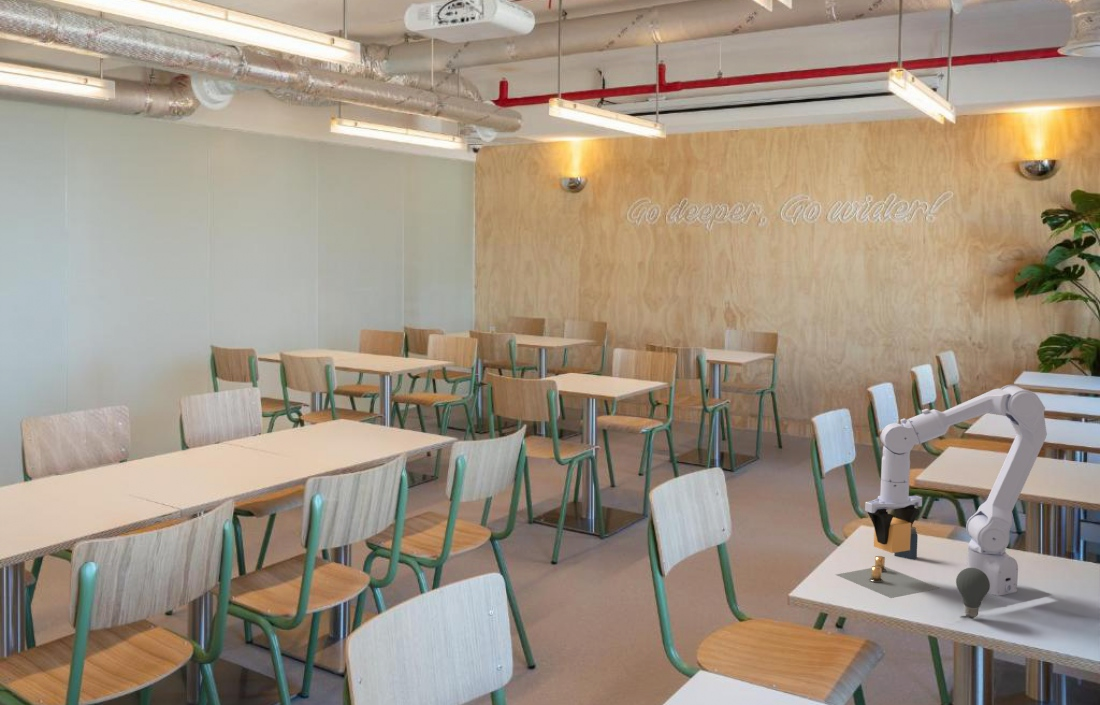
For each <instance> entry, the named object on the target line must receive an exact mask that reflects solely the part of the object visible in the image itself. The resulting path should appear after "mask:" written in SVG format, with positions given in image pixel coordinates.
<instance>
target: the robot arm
mask: <svg viewBox="0 0 1100 705" xmlns="http://www.w3.org/2000/svg"><path fill="white" fill-rule="evenodd" d="M1045 411H1046V406H1045V405H1044V403H1043V401H1042V400H1041V398H1040V397H1039V396H1038V395H1037V394H1036V392H1033V391H1031V390H1028V389H1024V388H1023V387H1020V386H1019V385H1015V384H1007V385H1004V386H1002V387H1001V388H995V389H990V390H989V391H987V392H985V393H983V394H980V395H978V396H975V397H972V399H969V400H966V401H964V402H961V403H959V404H956V405H955V406H953V407H951V408H948V409H945V410H944V411H940V410H937V409H934V408H933V409H929V408H925V409H922V410H921V413H920V414H917V415H916V416H912V417H910V418H908V419H906V418H901V419H900V423H896V422H892V423H889V424H887V425H886V426H885V427H884V428H883V429H882V431H881V434H880V435H879V438H880V441H881V444H883V447H882V457H881V467H880V468H881V470H880V493H879V495H878V496H877V498H875V499H873V500H870V501H865V504H864V507H865V508H864V511H865V512H867V514H868V516H869V518H870V520H871V522H872V524H873V528H874V530H875V532H876V536H877V541H878V542H879V543H881V544H887V542H888V535H889V527H890V524H891V521H892V518H893V517H894V516H895V515H896V518H898V519H901V520H904V521H907V522H910V523H911V527H913V524H914V523H915V520H916V519H917V517H919V515H920V509H919V508H915V507H922V506H923V497H922V496H919V495H918V496H917V495H910V494H909V493H910V492H909V491H910V474H911V473H910V469H911V459H910V458H911V451H912V450H913V449H914V446H915V445H916V446H918V445H920V444H924V443H925V442H929V441H931V440H934V439H935V438H938V437H942V436H944V435H946V434H947V432H948V430H949V428H950V427H951V426H953V425H956V424H959V423H962V422H965V421H968V420H972V419H974V418H978V417H980V416H984V415H987V414H991V415H996V416H997V415H998V416H1003V417H1006V418H1008V420H1009V421H1010V424H1011V425H1012V427H1013V429H1014V431H1015V432H1016V436H1015V437H1014V439H1013V441H1012V444H1011V446H1010V449H1009V450H1008V453H1007V455H1006V457H1005V459H1004V462H1003V464H1002V467H1001V468H1000V470H999V472H998V475H997V477H996V479H995V481H994V483H993V486H992V487H991V490H990V492H989V495H988V497H987V499H986V501H985V502H983V503H982V504H980V505H979V507H978V509H977V510H976V512H975V513H974V514H973V515H971V516H970V517H969V518H968V519H967V522H966V526H965V529H966V533H967V535H968V536H969V537H970V541H969V543H968V544H967V566H966V568H977V569H979V570H981V571H983V572H984V573H985V574H986V575H987V577H988V579H989V582H990V589H989V591H988V593H987V594H992V595H993V596H998V597H999V596H1003V595H1009V594H1012V593H1016V592H1018V576H1019V573H1018V572H1019V566H1018V565H1019V564H1018V562H1017V559H1016V558H1014V557H1012V556H1010V555H1009V554H1008V553H1007V551H1006V548H1007V547H1008V546H1009V544H1010V530H1011V527H1012V525H1013V519H1012V518H1013V516H1012V515H1013V514H1012V512H1013V510H1014V508H1015V505H1016V503H1017V502H1018V499H1019V497H1020V496H1021V495H1020V494H1021V493H1022V491H1023V488H1024V486H1025V484H1026V481H1028V478H1029V476H1030V473H1031V471H1032V469H1033V466H1034V465H1035V462H1036V460H1037V458H1038V455H1039V454H1040V452H1041V449H1042V447H1043V445H1044V443H1045V441H1046V438H1047V434H1048V433H1047V426H1046V421H1045ZM889 510H894V514H890V513H888V511H889Z"/></svg>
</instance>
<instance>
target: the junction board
mask: <svg viewBox="0 0 1100 705" xmlns="http://www.w3.org/2000/svg"><path fill="white" fill-rule="evenodd" d="M884 568H885V569H886V572H881V579H883V583H873V582H871V581H869V579H870V578H871V577H872V567H870V568H865V569H858V570H853V571H846V572H843V573H841V572H840V573H836V574H835V576H837V577H840V578H843V579H844V580H847V581H849V582H852V583H853V584H856V585H859V586H861V587H864V588H866V589H869V590H871V591H873V592H875V593H878V594H881V595H883V596H885V597H886V598H887V597H888V598H890V599H893V598H897V597H899V598H900V597H903V596H907V595H913V594H918V593H922V592H927V591H932V590H937V589H940V587H939V586H936V585H933V584H931V583H928V582H926V581H923V580H920V579H918V578H915V577H913V576H910V575H907V574H905V573H902V572H899V571H897V570H894V569H892V568H889V567H887V566H885V567H884Z"/></svg>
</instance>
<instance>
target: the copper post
mask: <svg viewBox="0 0 1100 705" xmlns="http://www.w3.org/2000/svg"><path fill="white" fill-rule="evenodd" d="M871 568H872V577H871V578H870V579H869V581H871V582H873V583H883V579H881V572H882V568H881V567H879V566H875V565H873V566H871Z"/></svg>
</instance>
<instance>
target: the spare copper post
mask: <svg viewBox="0 0 1100 705" xmlns="http://www.w3.org/2000/svg"><path fill="white" fill-rule="evenodd" d="M885 560H886V558H885V556H881V555H876V556H875V557H874V566H879V567H881V568H882V572H886V569H885V568H884V567H886V566H885V563H886V562H885Z"/></svg>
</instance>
